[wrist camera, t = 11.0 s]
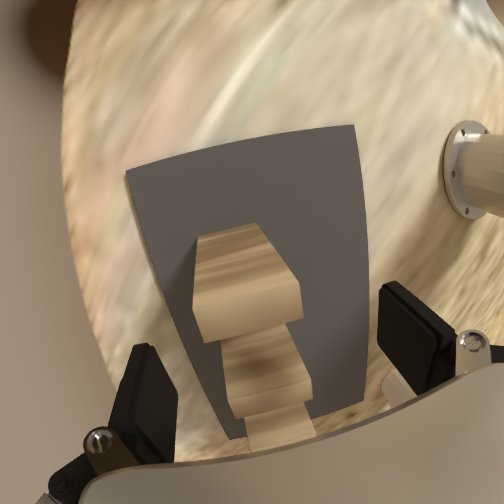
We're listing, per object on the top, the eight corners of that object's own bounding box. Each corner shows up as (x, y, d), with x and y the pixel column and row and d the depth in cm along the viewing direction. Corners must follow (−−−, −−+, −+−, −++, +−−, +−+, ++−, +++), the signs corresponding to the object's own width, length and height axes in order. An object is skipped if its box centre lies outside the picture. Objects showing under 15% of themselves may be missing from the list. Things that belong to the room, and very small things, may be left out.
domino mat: (350, 124, 23) (353, 124, 23) (361, 397, 36) (363, 400, 35) (127, 170, 22) (125, 170, 21) (229, 436, 34) (229, 439, 34)
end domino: (197, 236, 24) (192, 309, 13) (255, 222, 24) (299, 282, 13) (203, 258, 25) (204, 343, 13) (260, 244, 25) (304, 317, 14)
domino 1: (216, 302, 26) (227, 400, 15) (269, 289, 27) (311, 378, 15) (222, 320, 27) (235, 419, 16) (272, 307, 27) (312, 398, 16)
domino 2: (233, 354, 28) (250, 450, 17) (279, 342, 29) (316, 432, 18) (237, 367, 29) (255, 460, 18) (282, 356, 29) (316, 444, 18)
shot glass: (408, 353, 34) (435, 382, 28) (417, 373, 37) (440, 400, 30) (371, 383, 35) (393, 416, 28) (384, 400, 37) (404, 429, 31)
